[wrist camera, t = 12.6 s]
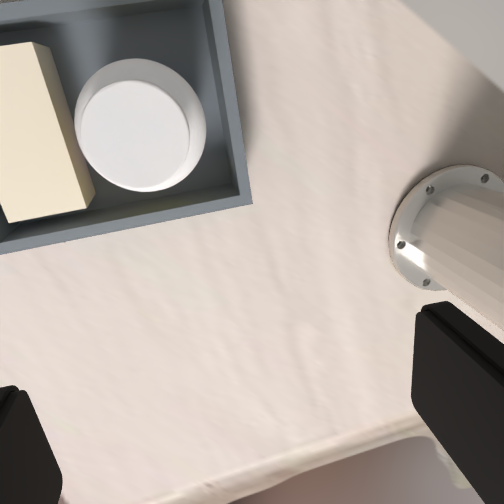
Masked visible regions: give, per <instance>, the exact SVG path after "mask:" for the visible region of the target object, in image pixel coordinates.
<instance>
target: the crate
mask: <svg viewBox="0 0 504 504" xmlns="http://www.w3.org/2000/svg"><path fill="white" fill-rule="evenodd" d="M26 42H34V43H37V44H40V45H43V46H46V47H49V48H50V50H51V53H52V56H53V59H54V62H55V65H56V69H57V72H58V75H59V78H60V81H61V84H62V88H63V91H64V94H65V97H66V100H67V104H68V107H69V110H70V113H71V116H72V119H73V123H74V117H75V107H76V103H77V100H78V97H79V94H80V92H81V90H82V88H83V87H84V85H85V84H86V82H87V81H88V80H89V78H90V77H91V76H92V75H93V74H95V73H96V72H97V71H98V70H100V69H101V68H103V67H104V66H106V65H108V64H110V63H113V62H116V61H120V60H124V59H135V58H137V59H147V60H151V61H155V62H158V63H160V64H163V65H165V66H167V67H169V68H170V69H172V70H174V71H175V72H176V73H178V74H179V75H180V76H181V77H182V78H183V79H185V81H186V82H187V83H188V84H189V85H190V86H191V88H192V89H193V90H194V92H195V93H196V95H197V97H198V99H199V101H200V103H201V105H202V108H203V111H204V115H205V120H206V140H205V146H204V149H203V152H202V155H201V157H200V159H199V161H198V163H197V165H196V166H195V168H194V169H193V170H192V171H191V173H190V174H189V175H188V176H187V177H185V178H184V179H183V180H182V181H180V182H179V183H177V184H175V185H173V186H171V187H169V188H166V189H163V190H158V191H151V192H140V191H133V190H128V189H125V188H122V187H120V186H117V185H115V184H113V183H111V182H110V181H108V180H107V179H105V178H104V177H103V176H101V175H100V174H99V173H98V172H97V171H96V170H95V169H94V168H93V167H92V166H91V165H90V163H89V162H88V161H87V159H86V158H85V156H84V158H85V161H86V164H87V167H88V170H89V173H90V177H91V180H92V183H93V186H94V189H95V193H96V194H95V196H94V197H93V199H92V200H91V202H90V204H89V205H88V207H87V208H85V209H80V210H74V211H69V212H64V213H59V214H54V215H48V216H43V217H38V218H33V219H28V220H23V221H17V222H12V223H8V220H7V218H6V216H5V213H4V211H3V208H2V206H1V204H0V255H2V254H7V253H12V252H17V251H22V250H26V249H31V248H36V247H41V246H46V245H51V244H56V243H61V242H66V241H71V240H76V239H81V238H86V237H91V236H96V235H101V234H106V233H111V232H116V231H120V230H125V229H130V228H135V227H140V226H145V225H150V224H155V223H160V222H165V221H170V220H175V219H180V218H185V217H190V216H195V215H200V214H205V213H210V212H215V211H219V210H224V209H229V208H234V207H239V206H244V205H249V204H253V202H252V196H251V189H250V182H249V176H248V169H247V162H246V156H245V149H244V142H243V136H242V129H241V122H240V116H239V109H238V102H237V96H236V89H235V82H234V76H233V69H232V62H231V56H230V49H229V42H228V36H227V29H226V22H225V16H224V9H223V2H222V0H23V1H15V2H7V3H0V46H5V45H12V44H19V43H26ZM74 126H75V124H74Z"/></svg>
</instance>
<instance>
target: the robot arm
mask: <svg viewBox="0 0 504 504" xmlns="http://www.w3.org/2000/svg"><path fill="white" fill-rule="evenodd" d="M389 251H390V257H391V259H392V262H393V265H394V267H395V268H396V270H397V271H398V272H399V274H400V275H401V276H402V277H404V278H405V279H406V280H407V281H408V282H410V283H411V284H413V285H414V286H416V287H418V288H421V289H424V290H431V291H442V290H448V291H450V292H451V293H452V294H454V295H455V296H456V297H458V298H459V299H461V300H462V301H463V302H465V303H466V304H468V305H469V306H470V307H472V308H473V309H474V310H476V311H477V312H479V313H480V314H481V315H483V316H484V317H486V318H487V319H488V320H490V321H491V322H492V323H494V324H495V325H497V326H498V327H499V328H501V329H502V330H503V331H504V182H503V181H502V180H501V179H500V177H498V176H497V175H496V174H494V173H493V172H491V171H489V170H486V169H484V168H481V167H477V166H472V165H455V166H450V167H446V168H443V169H441V170H439V171H436V172H434V173H432V174H431V175H429V176H428V177H426V178H424V179H423V180H422V181H421V182H419V183H418V184H417V185H416V186H415V187H414V188H413V189H412V190H411V191H410V192H409V193H408V195H407V196H406V197H405V198H404V200H403V201H402V203H401V204H400V206H399V208H398V209H397V211H396V214H395V216H394V219H393V221H392V224H391V229H390V233H389ZM411 399H412V403H413V405H414V408H415V409H416V411H417V412H418V414H419V415H420V416H421V418H422V419H423V420H424V422H425V423H426V424H427V426H428V427H429V429H430V430H431V431H432V433H433V434H434V435H435V437H436V438H437V439H438V441H439V442H440V443H441V445H442V446H443V447H444V449H445V450H446V451H447V453H448V454H449V456H450V457H451V458H452V460H453V461H454V462H455V464H456V465H457V466H458V468H459V469H460V470H461V472H462V473H463V474H464V476H465V477H466V479H467V480H468V481H469V483H470V484H471V485H472V487H473V488H474V489H475V491H476V492H477V493H478V495H479V496H480V497H481V499H482V500H483V501H484V503H485V504H504V344H503V343H501V342H500V341H499V340H498V339H496V338H495V337H494V336H493V335H491V334H490V333H489V332H487V331H486V330H485V329H484V328H482V327H481V326H480V325H478V324H477V323H476V322H475V321H473V320H472V319H471V318H470V317H468V316H467V315H466V314H464V313H463V312H462V311H461V310H459V309H458V308H457V307H456V306H454V305H453V304H452V303H450V302H448V301H443V302H438V303H433V304H428V305H424V306H423V307H422V309H421V312H418V313H417V315H416V321H415V337H414V354H413V371H412V387H411ZM61 490H62V474H61V471H60V468H59V466H58V464H57V461H56V459H55V457H54V454H53V452H52V450H51V447H50V445H49V442H48V440H47V438H46V435H45V433H44V431H43V428H42V426H41V424H40V421H39V419H38V417H37V414H36V412H35V410H34V407H33V405H32V403H31V400H30V398H29V396H28V394H27V392H26V391H25V390H20V391H19V389H18V388H17V387H16V386H13V385H11V386H6V387H1V388H0V504H58V501H59V498H60V494H61Z"/></svg>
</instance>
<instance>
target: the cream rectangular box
mask: <svg viewBox="0 0 504 504" xmlns="http://www.w3.org/2000/svg"><path fill="white" fill-rule="evenodd" d="M95 194H96V193H95V189H94V186H93V183H92V180H91V177H90V173H89V170H88V167H87V164H86V161H85V158H84V154H83V152H82V150H81V148H80V146H79V143H78V140H77V136H76V132H75V126H74V123H73V119H72V116H71V113H70V110H69V107H68V104H67V100H66V97H65V94H64V91H63V88H62V84H61V81H60V78H59V75H58V72H57V69H56V65H55V62H54V59H53V56H52V53H51V50H50V48H49V47H46V46H43V45H40V44H37V43H34V42H26V43H19V44H12V45H5V46H0V204H1V206H2V208H3V211H4V213H5V216H6V218H7V220H8V223H12V222H17V221H23V220H28V219H33V218H38V217H43V216H48V215H54V214H59V213H64V212H69V211H74V210H80V209H85V208H87V207H88V205H89V204H90V202H91V200H92V199H93V197H94V196H95Z"/></svg>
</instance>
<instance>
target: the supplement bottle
mask: <svg viewBox="0 0 504 504" xmlns="http://www.w3.org/2000/svg"><path fill="white" fill-rule="evenodd" d="M74 124H75V132H76V136H77V140H78V143H79V146H80V148H81V150H82V152H83V154H84V156H85V158H86V159H87V161H88V162H89V163H90V165H91V166H92V167H93V168H94V169H95V170H96V171H97V172H98V173H99V174H100V175H101V176H103V177H104V178H105V179H107V180H108V181H110V182H111V183H113V184H115V185H117V186H120V187H122V188H125V189H128V190H133V191H140V192H151V191H158V190H163V189H166V188H169V187H171V186H173V185H175V184H177V183H179V182H180V181H182V180H183V179H184V178H185V177H187V176H188V175H189V174H190V173H191V171H192V170H193V169H194V168H195V166H196V165H197V163H198V161H199V159H200V157H201V155H202V152H203V149H204V146H205V140H206V120H205V115H204V111H203V108H202V105H201V103H200V101H199V99H198V97H197V95H196V93H195V92H194V90H193V89H192V88H191V86H190V85H189V84H188V83H187V82H186V81H185V79H183V78H182V77H181V76H180V75H179V74H178V73H176V72H175V71H174V70H172V69H170V68H169V67H167V66H165V65H163V64H160V63H158V62H155V61H151V60H147V59H137V58H135V59H124V60H120V61H116V62H113V63H110V64H108V65H106V66H104V67H103V68H101V69H100V70H98V71H97V72H96V73H95V74H93V75H92V76H91V77H90V78H89V80H88V81H87V82H86V84H85V85H84V87H83V88H82V90H81V92H80V94H79V97H78V100H77V103H76V107H75V117H74Z"/></svg>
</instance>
